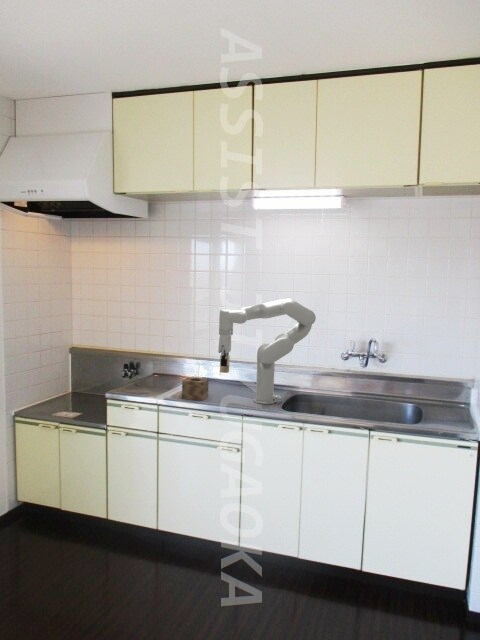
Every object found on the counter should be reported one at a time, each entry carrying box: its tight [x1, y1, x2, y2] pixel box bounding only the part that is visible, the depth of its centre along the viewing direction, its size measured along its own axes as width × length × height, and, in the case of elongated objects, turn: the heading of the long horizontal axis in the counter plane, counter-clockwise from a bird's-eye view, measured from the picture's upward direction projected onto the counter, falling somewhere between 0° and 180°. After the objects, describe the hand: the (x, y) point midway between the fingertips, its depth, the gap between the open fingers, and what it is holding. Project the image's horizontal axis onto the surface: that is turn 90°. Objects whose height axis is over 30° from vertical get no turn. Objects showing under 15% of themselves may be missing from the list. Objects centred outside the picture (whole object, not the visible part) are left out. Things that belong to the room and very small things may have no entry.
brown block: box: [181, 376, 210, 401], centre depth 286 cm, size 12×10×10 cm
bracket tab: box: [219, 355, 231, 374], centre depth 281 cm, size 4×3×9 cm
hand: (224, 365), depth 281 cm, fingers closed on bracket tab, 3 cm apart
